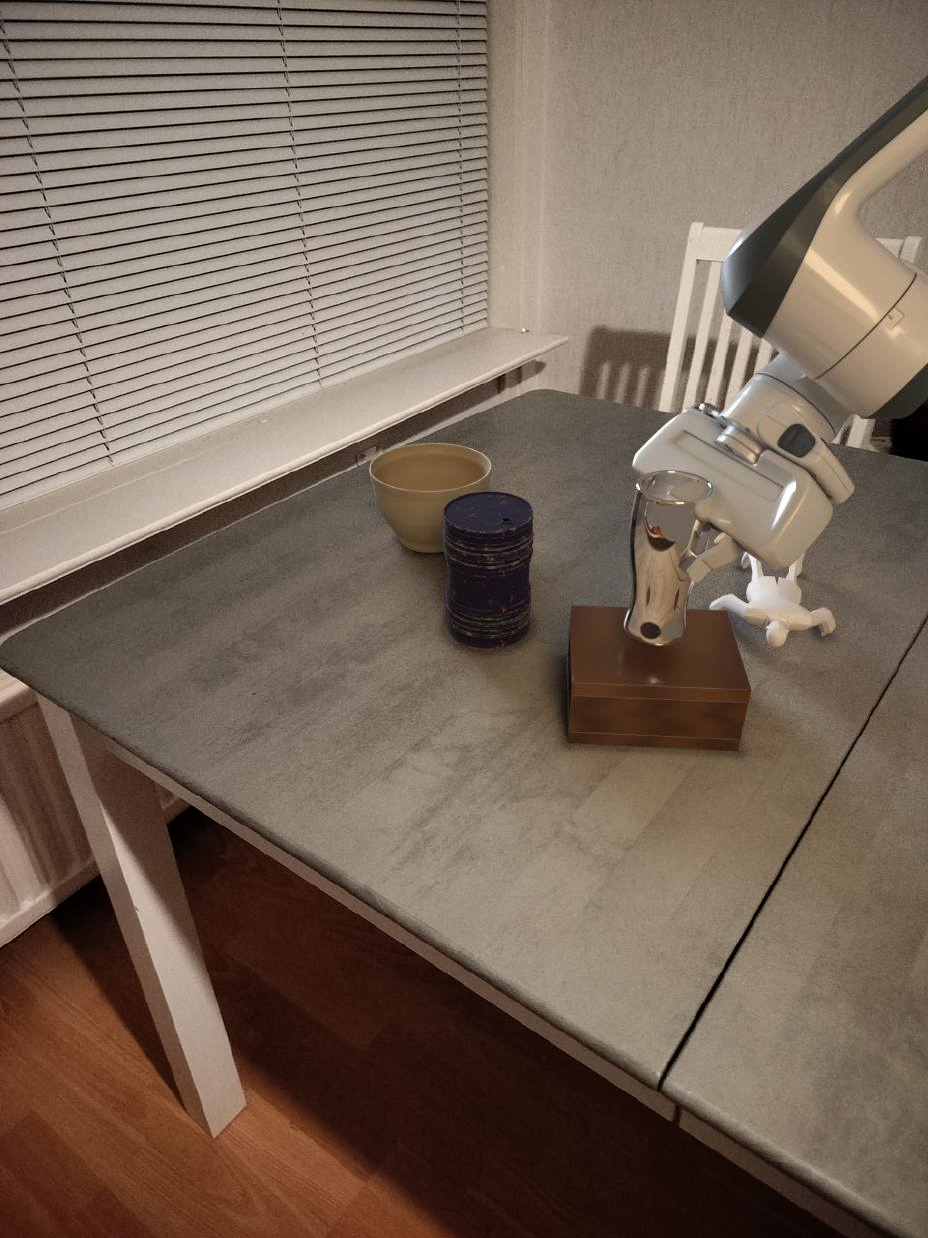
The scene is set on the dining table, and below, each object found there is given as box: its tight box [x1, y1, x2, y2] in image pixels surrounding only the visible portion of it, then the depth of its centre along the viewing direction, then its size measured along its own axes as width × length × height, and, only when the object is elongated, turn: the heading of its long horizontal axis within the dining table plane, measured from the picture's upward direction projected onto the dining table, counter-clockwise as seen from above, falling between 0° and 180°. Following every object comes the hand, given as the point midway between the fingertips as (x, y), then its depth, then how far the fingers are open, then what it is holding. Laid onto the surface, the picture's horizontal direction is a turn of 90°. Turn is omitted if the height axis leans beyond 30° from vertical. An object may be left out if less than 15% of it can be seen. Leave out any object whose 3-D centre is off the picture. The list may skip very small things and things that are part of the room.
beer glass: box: [624, 470, 715, 646], centre depth 75 cm, size 7×7×15 cm
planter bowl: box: [368, 442, 493, 554], centre depth 111 cm, size 16×16×11 cm
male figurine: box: [708, 551, 837, 648], centre depth 94 cm, size 14×6×25 cm
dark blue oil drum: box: [443, 490, 535, 651], centre depth 92 cm, size 10×10×15 cm
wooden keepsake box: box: [566, 604, 752, 752], centre depth 82 cm, size 16×13×8 cm
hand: (660, 554), depth 74 cm, fingers closed on beer glass, 7 cm apart
